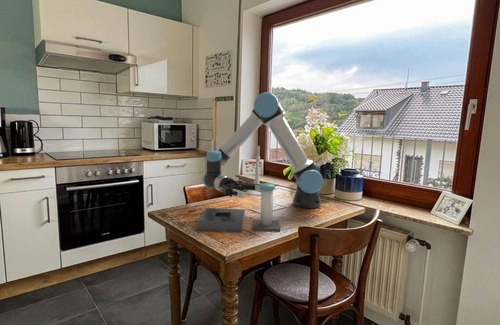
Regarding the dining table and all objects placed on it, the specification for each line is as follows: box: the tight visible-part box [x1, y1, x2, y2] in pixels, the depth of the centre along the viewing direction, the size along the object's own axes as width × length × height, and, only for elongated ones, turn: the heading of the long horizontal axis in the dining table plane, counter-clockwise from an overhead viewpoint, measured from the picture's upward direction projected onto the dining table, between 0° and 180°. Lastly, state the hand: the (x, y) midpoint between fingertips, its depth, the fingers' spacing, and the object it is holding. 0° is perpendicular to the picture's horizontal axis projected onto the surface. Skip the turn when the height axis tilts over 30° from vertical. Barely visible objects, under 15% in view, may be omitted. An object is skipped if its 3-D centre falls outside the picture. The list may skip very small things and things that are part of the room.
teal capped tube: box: [259, 182, 276, 226], centre depth 126 cm, size 7×7×17 cm
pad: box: [252, 218, 281, 232], centre depth 127 cm, size 11×11×1 cm
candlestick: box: [245, 145, 261, 197], centre depth 184 cm, size 13×13×30 cm
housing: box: [197, 207, 246, 233], centre depth 129 cm, size 18×18×4 cm
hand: (254, 192), depth 131 cm, fingers open, 13 cm apart
